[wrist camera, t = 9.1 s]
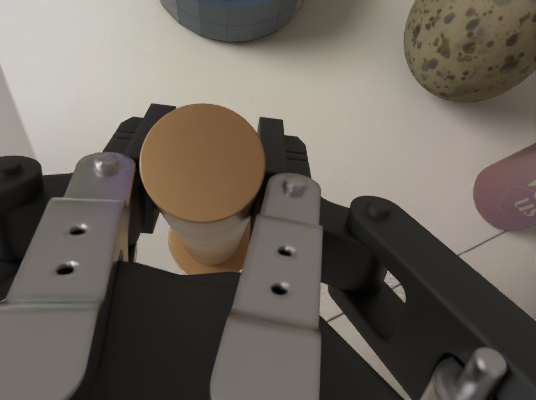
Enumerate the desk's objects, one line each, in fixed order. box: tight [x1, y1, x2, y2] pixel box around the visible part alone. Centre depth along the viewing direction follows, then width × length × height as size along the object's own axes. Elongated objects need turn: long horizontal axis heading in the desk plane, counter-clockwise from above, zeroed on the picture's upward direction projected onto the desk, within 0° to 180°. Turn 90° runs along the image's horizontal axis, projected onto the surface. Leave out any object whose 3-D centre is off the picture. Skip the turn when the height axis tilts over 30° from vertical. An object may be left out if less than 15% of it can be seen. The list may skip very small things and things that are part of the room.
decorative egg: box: [404, 0, 536, 102], centre depth 35 cm, size 11×11×15 cm
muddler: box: [139, 103, 265, 275], centre depth 16 cm, size 4×4×13 cm
